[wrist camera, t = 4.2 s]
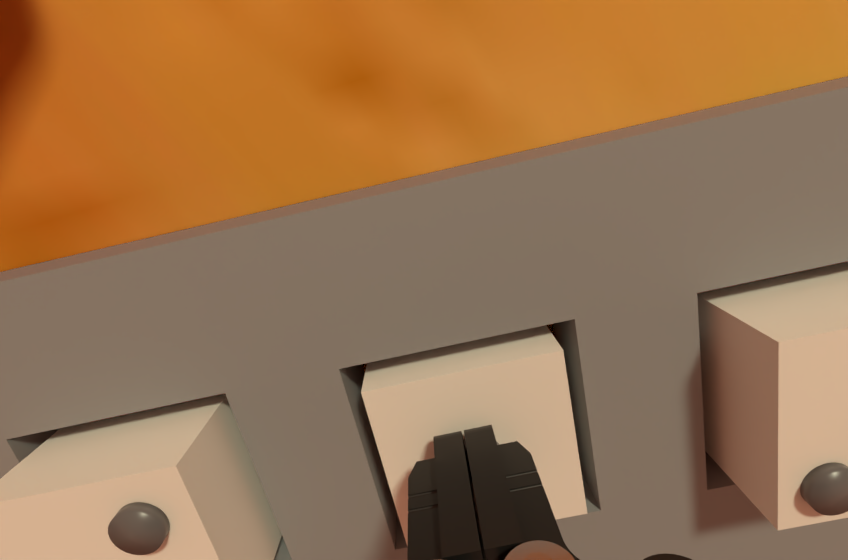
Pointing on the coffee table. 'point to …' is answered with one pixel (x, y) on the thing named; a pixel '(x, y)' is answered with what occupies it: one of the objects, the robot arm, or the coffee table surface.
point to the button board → (459, 320)
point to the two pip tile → (140, 491)
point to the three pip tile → (780, 392)
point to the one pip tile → (478, 409)
